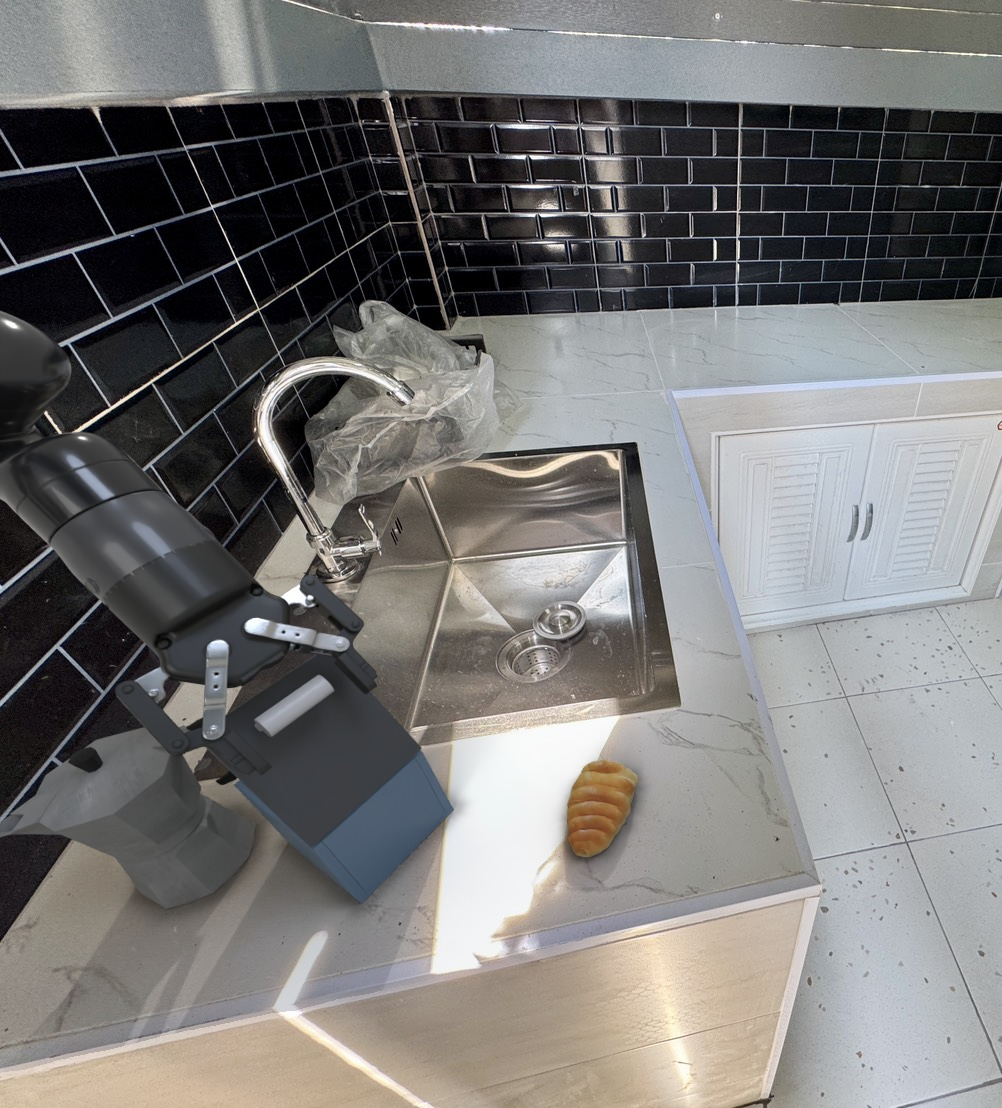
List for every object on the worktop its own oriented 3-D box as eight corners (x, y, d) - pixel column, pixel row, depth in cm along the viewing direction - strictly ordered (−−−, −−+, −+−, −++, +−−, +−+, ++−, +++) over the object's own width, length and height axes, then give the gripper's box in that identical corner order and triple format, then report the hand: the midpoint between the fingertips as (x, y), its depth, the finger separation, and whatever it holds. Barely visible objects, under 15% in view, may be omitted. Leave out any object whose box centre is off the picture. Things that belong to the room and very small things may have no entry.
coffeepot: (124, 952, 53) (-38, 857, 41) (108, 873, 58) (-41, 769, 46) (317, 829, 61) (226, 723, 50) (288, 770, 66) (199, 661, 55)
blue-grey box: (287, 842, 60) (233, 784, 54) (382, 760, 68) (344, 700, 61) (361, 904, 56) (312, 849, 49) (454, 809, 63) (422, 751, 57)
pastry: (620, 864, 59) (615, 846, 57) (553, 857, 60) (546, 839, 57) (641, 777, 67) (638, 758, 64) (581, 772, 67) (576, 752, 65)
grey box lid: (193, 736, 46) (200, 734, 42) (326, 647, 53) (342, 638, 49) (309, 846, 49) (325, 854, 45) (419, 748, 57) (441, 747, 53)
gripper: (258, 535, 52) (392, 675, 54) (45, 641, 42) (222, 805, 45) (265, 502, 46) (412, 659, 49) (23, 614, 36) (226, 802, 39)
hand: (322, 728), depth 47 cm, fingers open, 8 cm apart
